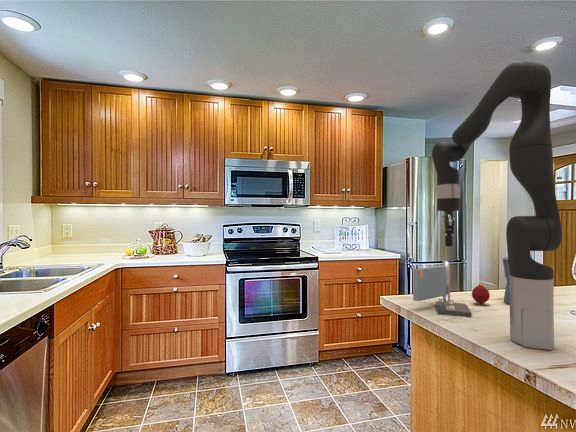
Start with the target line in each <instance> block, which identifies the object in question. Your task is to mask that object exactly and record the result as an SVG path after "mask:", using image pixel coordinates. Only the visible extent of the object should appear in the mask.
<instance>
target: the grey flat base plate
mask: <svg viewBox="0 0 576 432" xmlns="http://www.w3.org/2000/svg"><path fill="white" fill-rule="evenodd" d="M435 307H436V310H437V311H436V312H437V314H438V315H444V316H452V317H453V316H455V317H467V318H472V311H471V310H470V308H469V306H468V305H467V303H462V302H454V303H452V301H444V302H440V301H439V300H438V301H437V300H435Z"/></svg>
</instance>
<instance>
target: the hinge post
mask: <svg viewBox="0 0 576 432" xmlns="http://www.w3.org/2000/svg"><path fill="white" fill-rule="evenodd" d="M450 262H451V261H446V260H445V261H443V260H442V266H445V274H446V296H442V298H438V301H440V302H444V301H452V303H455V301H454V300H453V299H451V281H450V279H451V278H450V277H451V276H450V275H451V272H450V269H451V267H450V265H451V263H450Z"/></svg>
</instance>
